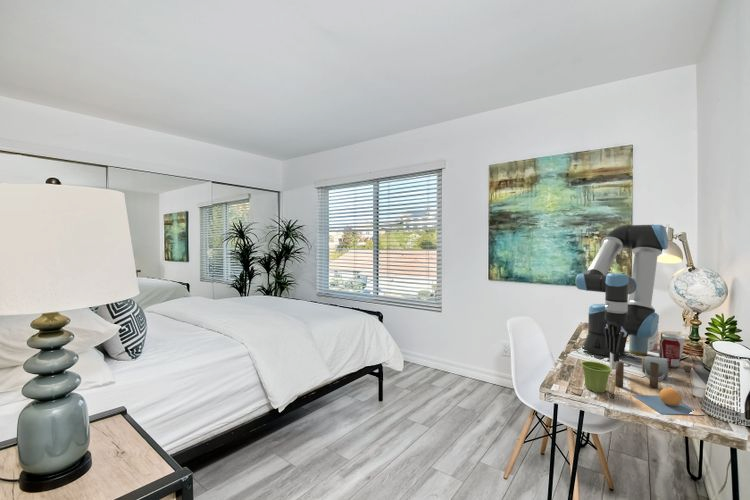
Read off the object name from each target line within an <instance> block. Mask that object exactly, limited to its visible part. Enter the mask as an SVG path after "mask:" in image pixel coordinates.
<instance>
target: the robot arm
mask: <svg viewBox="0 0 750 500" xmlns="http://www.w3.org/2000/svg"><path fill="white" fill-rule="evenodd" d="M668 247H669V238H668V232H667V229H666V227H665V226H664V225H663V224H627V225H626V224H624V225H621V226H617V227H616V228H613V229H612V230H611V231H609V232H608V233H607V234H606V235H604V236H603V238H602V240H601V241H600V247H599V250H598V251H597V253H596V254H595V256H594V258H593V260H592V262H590V264H589V267H588V269H587V271H586V272H585V273H577V274H576V277H575V281H574V282H575V287H576V288H577V289H578V290H581V291H586V292H597V293H604V294H605V297H604V299H605V303H594V304H593V303H592V304H591V305H589V307H588V313H587V314H588V318H587V319H588V320H587V321H588V323H587V328H588V329H587V336H586V337H585V340H584V342H583V349H584V350H585V351H586V350H587V352H590V353H592V354H594V355H595V354H596V355H600V356H609V367H611V368H612V370H616V361H620V355H622V354H623V355H624V353H625V349H626V344H627V342H628V341H627V339H628V337H629V336H630V335H633V336H637V337H644V338H651V337H652V336H653V335H654V334H655V332H656V330H657V327H658V328H659V323H660V321H659V320H660V316H659V314H658V313H657V312H656V309H655V308H654V307H653V305H652V301H653V296H654V295H653V293H654V285H655V281H656V280H655V279H656V270H657V263H658V257H659V256H660V255H662V254H663V251H664V250H667V249H668ZM623 249H631V253H632V254H634V257H633V265H632V271H631V276H629V275H628V274H626V273H619V272H616V273H615V272H611V273H610V272H609V271H610V268H611V266H612V264H613V262H615V261H614V260H615V259H616V257H617V255H618V253H620V252H622V250H623Z"/></svg>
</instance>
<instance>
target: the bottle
mask: <svg viewBox="0 0 750 500" xmlns="http://www.w3.org/2000/svg"><path fill="white" fill-rule="evenodd" d="M628 344H629V350H628V351H629V352H630V353H631V354H633V355H638V356H646V355H648V352H649V351H648V338H644V337H637V336H633V335H629V343H628Z"/></svg>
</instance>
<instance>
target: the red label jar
mask: <svg viewBox="0 0 750 500" xmlns="http://www.w3.org/2000/svg"><path fill="white" fill-rule="evenodd" d="M661 335H662V337H673V338H677V339H678V342H679V343H680V358H681V359H682V356H683V350H684V345H685V342H686V339H687V338H686V337H685V336H683V335H680V334H674V333H663V334H661Z"/></svg>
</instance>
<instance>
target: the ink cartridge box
mask: <svg viewBox="0 0 750 500" xmlns="http://www.w3.org/2000/svg"><path fill="white" fill-rule="evenodd" d="M658 343H659V326H658V327H657V330H656V332H655V334H654V335H653V336H652V337H651V338H648V352H649V351H654V350H658V345H659V344H658Z"/></svg>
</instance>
